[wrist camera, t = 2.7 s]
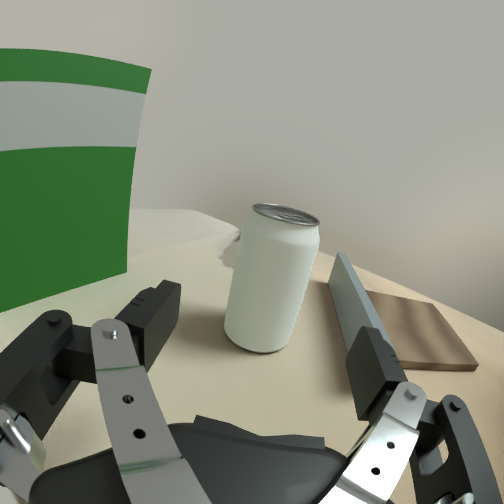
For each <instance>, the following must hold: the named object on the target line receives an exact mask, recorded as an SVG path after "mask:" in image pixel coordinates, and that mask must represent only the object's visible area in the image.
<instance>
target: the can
mask: <svg viewBox="0 0 504 504" xmlns="http://www.w3.org/2000/svg"><path fill="white" fill-rule="evenodd" d="M319 224H320V221H319V220H318V219H317V218H316V217H314V216H312V215H310V214H308V213H305V212H303V211H300V210H296V209H293V208H289V207H285V206H280V205H274V204H265V203H258V204H254V205H252V212H251V213H250V215H249V216H248V217H247V219H246V220H245V222H244V224H243V227H242V232H241V236H240V241H239V246H238V252H237V256H236V261H235V267H234V272H233V277H232V282H231V288H230V293H229V298H228V304H227V309H226V315H225V321H224V329H225V332H226V334H227V335H228V337H229V338H230V339H231V340H232V342H233V343H235V344H236V345H237V346H239V347H241V348H243V349H245V350H248V351H251V352H255V353H271V352H275V351H277V350H279V349H281V348H283V347H284V346H286V344H287V343H288V341H289V339H290V336H291V334H292V331H293V328H294V325H295V322H296V319H297V316H298V313H299V310H300V307H301V304H302V301H303V298H304V295H305V291H306V288H307V285H308V282H309V279H310V275H311V272H312V268H313V265H314V262H315V258H316V255H317V251H318V247H319V242H320V238H319V233H318V225H319Z"/></svg>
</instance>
